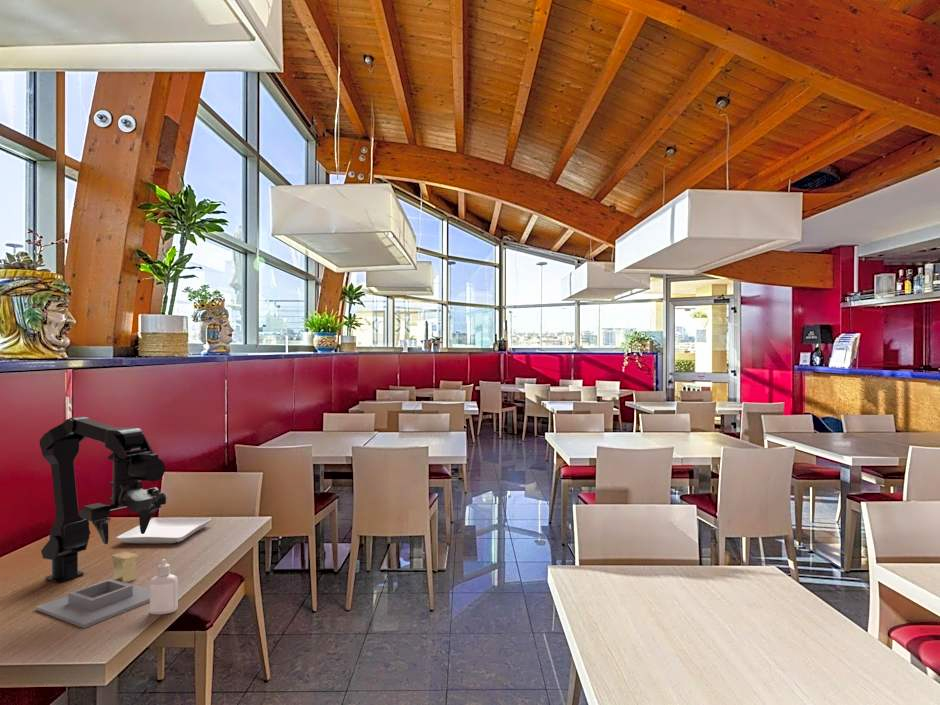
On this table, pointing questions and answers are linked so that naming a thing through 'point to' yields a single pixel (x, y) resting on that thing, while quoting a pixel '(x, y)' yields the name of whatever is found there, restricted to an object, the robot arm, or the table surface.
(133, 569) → the wooden lipped block
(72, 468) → the robot arm
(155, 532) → the salad plate
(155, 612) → the eye dropper bottle
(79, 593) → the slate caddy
